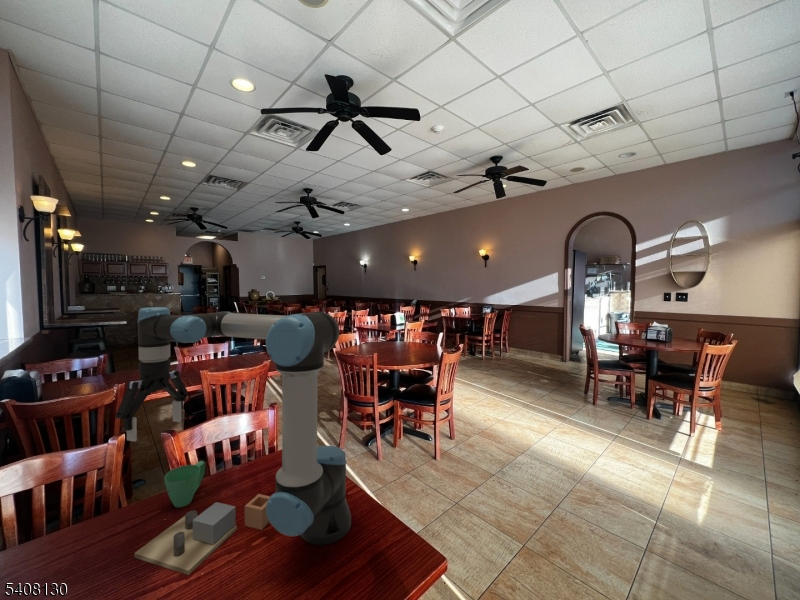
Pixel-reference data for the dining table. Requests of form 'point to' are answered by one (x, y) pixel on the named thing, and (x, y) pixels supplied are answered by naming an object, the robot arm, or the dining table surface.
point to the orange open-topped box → (257, 512)
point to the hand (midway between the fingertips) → (155, 430)
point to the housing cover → (214, 523)
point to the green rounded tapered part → (184, 483)
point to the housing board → (167, 549)
